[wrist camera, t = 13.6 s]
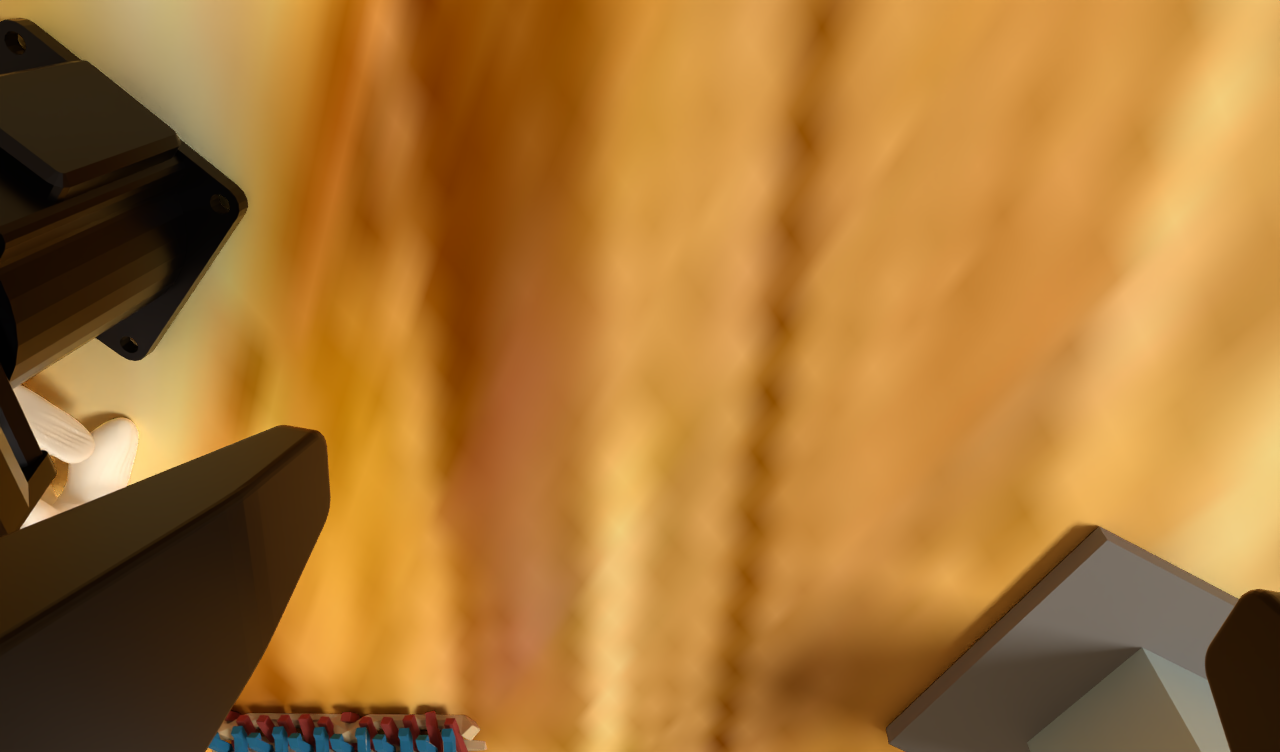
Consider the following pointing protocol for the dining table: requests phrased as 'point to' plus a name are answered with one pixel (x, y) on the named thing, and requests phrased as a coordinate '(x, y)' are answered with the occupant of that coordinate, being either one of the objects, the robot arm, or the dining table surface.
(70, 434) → the animal skull
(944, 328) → the dining table surface
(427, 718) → the woven mat
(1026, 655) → the felt pad
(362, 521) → the dining table surface
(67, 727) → the robot arm
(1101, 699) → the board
